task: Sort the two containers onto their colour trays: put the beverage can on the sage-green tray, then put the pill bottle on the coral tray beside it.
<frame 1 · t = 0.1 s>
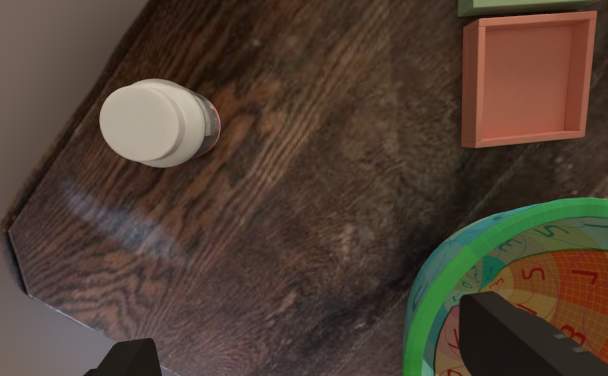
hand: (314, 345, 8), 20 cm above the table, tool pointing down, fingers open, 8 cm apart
coral tray: (515, 84, 27), on the table
pill bottle: (189, 125, 26), on the table
bowl: (467, 281, 31), on the table
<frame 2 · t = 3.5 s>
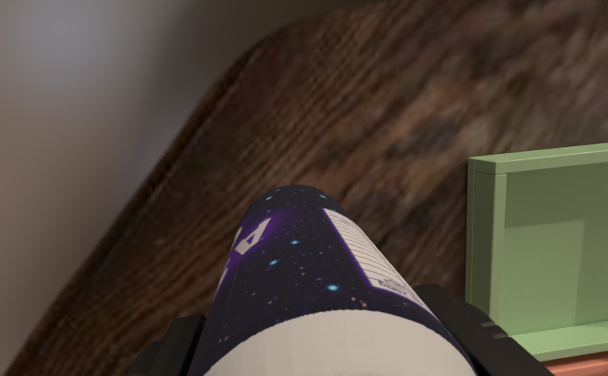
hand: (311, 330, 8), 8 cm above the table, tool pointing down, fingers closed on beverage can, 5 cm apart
green tray: (557, 244, 18), on the table
beverage can: (293, 233, 16), on the table, touching gripper
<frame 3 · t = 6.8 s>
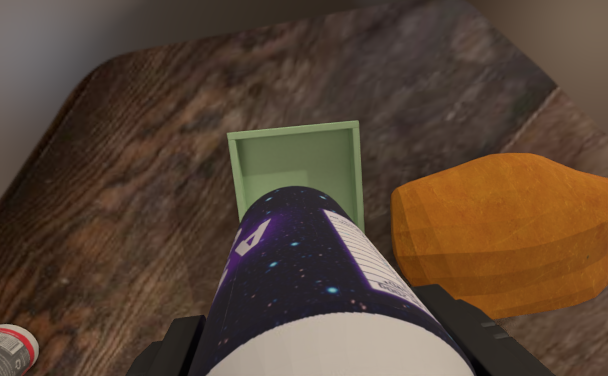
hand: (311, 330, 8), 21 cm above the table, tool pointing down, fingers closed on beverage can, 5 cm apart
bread: (466, 210, 31), on the table
pill bottle: (12, 345, 29), on the table
green tray: (298, 186, 29), on the table
beverage can: (293, 234, 16), point 13 cm above the table, touching gripper
when the fingers open (8 cm above the table, at t = 10.1 s): beverage can stays where it is, resting on green tray.
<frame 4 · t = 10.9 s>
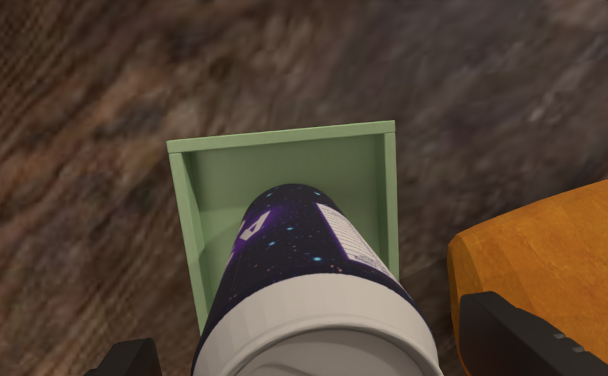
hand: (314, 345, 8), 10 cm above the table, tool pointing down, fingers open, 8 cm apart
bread: (551, 260, 20), on the table
green tray: (292, 226, 18), on the table
beverage can: (291, 228, 18), resting on green tray
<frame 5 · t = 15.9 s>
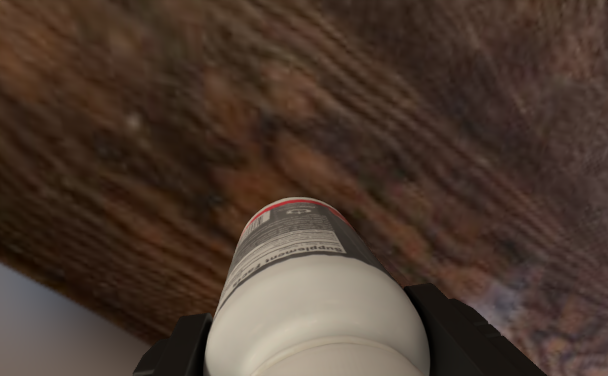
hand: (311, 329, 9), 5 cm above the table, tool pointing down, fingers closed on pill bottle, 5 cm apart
pill bottle: (297, 249, 14), on the table, touching gripper
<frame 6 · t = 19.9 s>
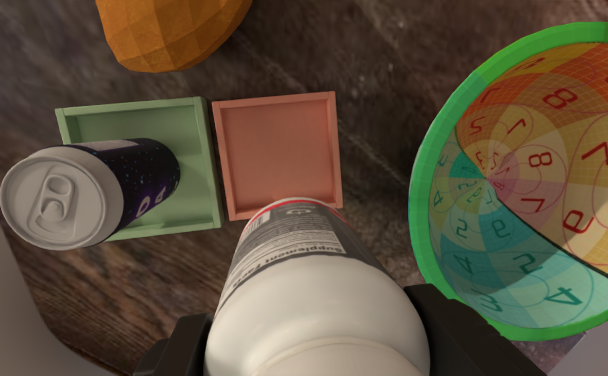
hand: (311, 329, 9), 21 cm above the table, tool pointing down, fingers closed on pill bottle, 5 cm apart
coral tray: (280, 155, 28), on the table
pill bottle: (297, 249, 14), point 15 cm above the table, touching gripper
bowl: (473, 175, 31), on the table
green tray: (152, 168, 27), on the table
beverage can: (150, 169, 27), resting on green tray
when the fingers open (6 cm above the table, at t = 23.8 s): pill bottle stays where it is, resting on coral tray.
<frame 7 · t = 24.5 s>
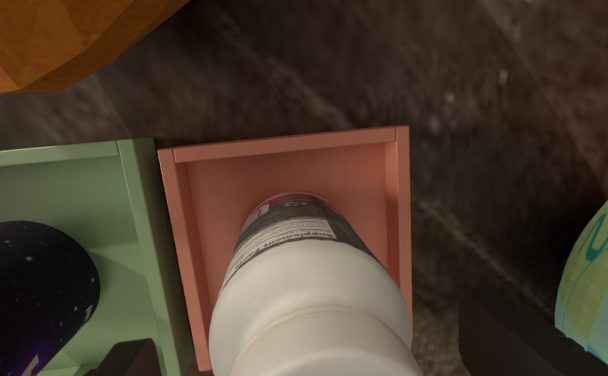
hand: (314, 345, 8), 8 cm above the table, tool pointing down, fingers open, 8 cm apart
coral tray: (295, 237, 15), on the table
pill bottle: (294, 241, 15), resting on coral tray
green tray: (55, 266, 14), on the table
beverage can: (48, 271, 14), resting on green tray
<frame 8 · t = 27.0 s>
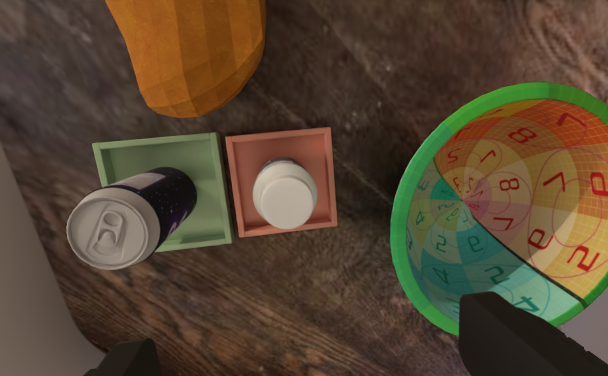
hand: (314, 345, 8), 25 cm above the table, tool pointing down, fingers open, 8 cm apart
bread: (190, 9, 29), on the table
coral tray: (283, 180, 32), on the table
pill bottle: (282, 180, 32), resting on coral tray
bowl: (452, 196, 35), on the table
green tray: (172, 191, 32), on the table
beverage can: (171, 192, 31), resting on green tray
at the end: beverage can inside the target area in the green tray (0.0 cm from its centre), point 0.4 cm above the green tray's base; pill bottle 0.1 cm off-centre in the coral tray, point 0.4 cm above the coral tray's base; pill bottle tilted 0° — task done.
